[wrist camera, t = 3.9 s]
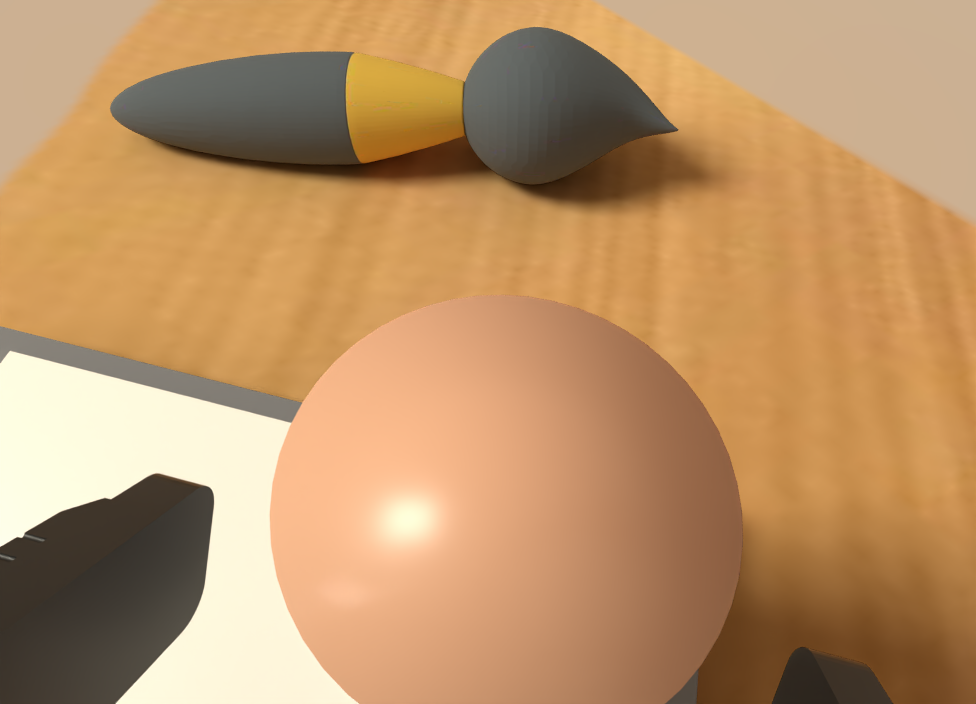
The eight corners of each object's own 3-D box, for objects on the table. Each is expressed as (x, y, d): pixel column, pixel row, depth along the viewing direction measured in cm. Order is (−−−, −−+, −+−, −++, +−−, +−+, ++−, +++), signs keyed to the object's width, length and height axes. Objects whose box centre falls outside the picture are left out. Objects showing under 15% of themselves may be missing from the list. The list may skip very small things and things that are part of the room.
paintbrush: (99, 211, 22) (16, 84, 18) (135, 116, 25) (69, -15, 20) (660, 212, 23) (707, 94, 19) (637, 122, 26) (674, 0, 22)
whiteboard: (694, 520, 17) (712, 503, 16) (659, 957, 13) (681, 979, 11) (22, 348, 19) (-7, 321, 18) (-226, 677, 14) (-288, 671, 13)
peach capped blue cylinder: (580, 570, 15) (750, 346, 6) (546, 772, 13) (731, 835, 4) (413, 525, 15) (365, 257, 7) (353, 716, 13) (179, 670, 5)
